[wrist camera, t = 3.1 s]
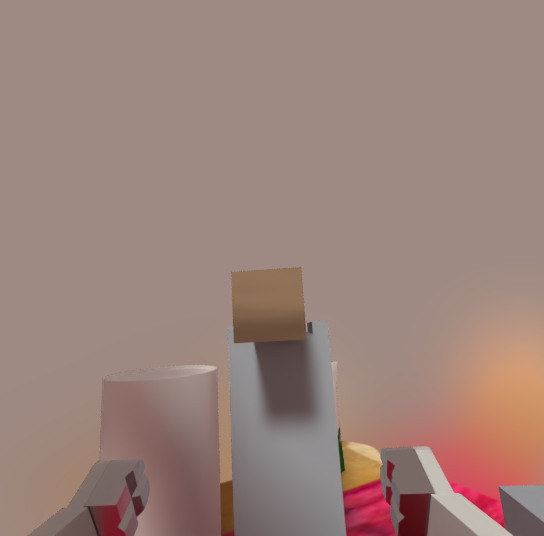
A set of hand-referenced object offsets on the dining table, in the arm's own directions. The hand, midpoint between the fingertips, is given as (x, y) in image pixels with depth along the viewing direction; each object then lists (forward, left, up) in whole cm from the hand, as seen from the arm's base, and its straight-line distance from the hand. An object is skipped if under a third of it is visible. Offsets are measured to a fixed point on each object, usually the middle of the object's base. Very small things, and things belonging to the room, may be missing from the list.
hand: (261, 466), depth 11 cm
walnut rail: (-12, +10, +4) cm, 16 cm away
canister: (-32, +7, -20) cm, 39 cm away
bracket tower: (-15, +13, -20) cm, 28 cm away
